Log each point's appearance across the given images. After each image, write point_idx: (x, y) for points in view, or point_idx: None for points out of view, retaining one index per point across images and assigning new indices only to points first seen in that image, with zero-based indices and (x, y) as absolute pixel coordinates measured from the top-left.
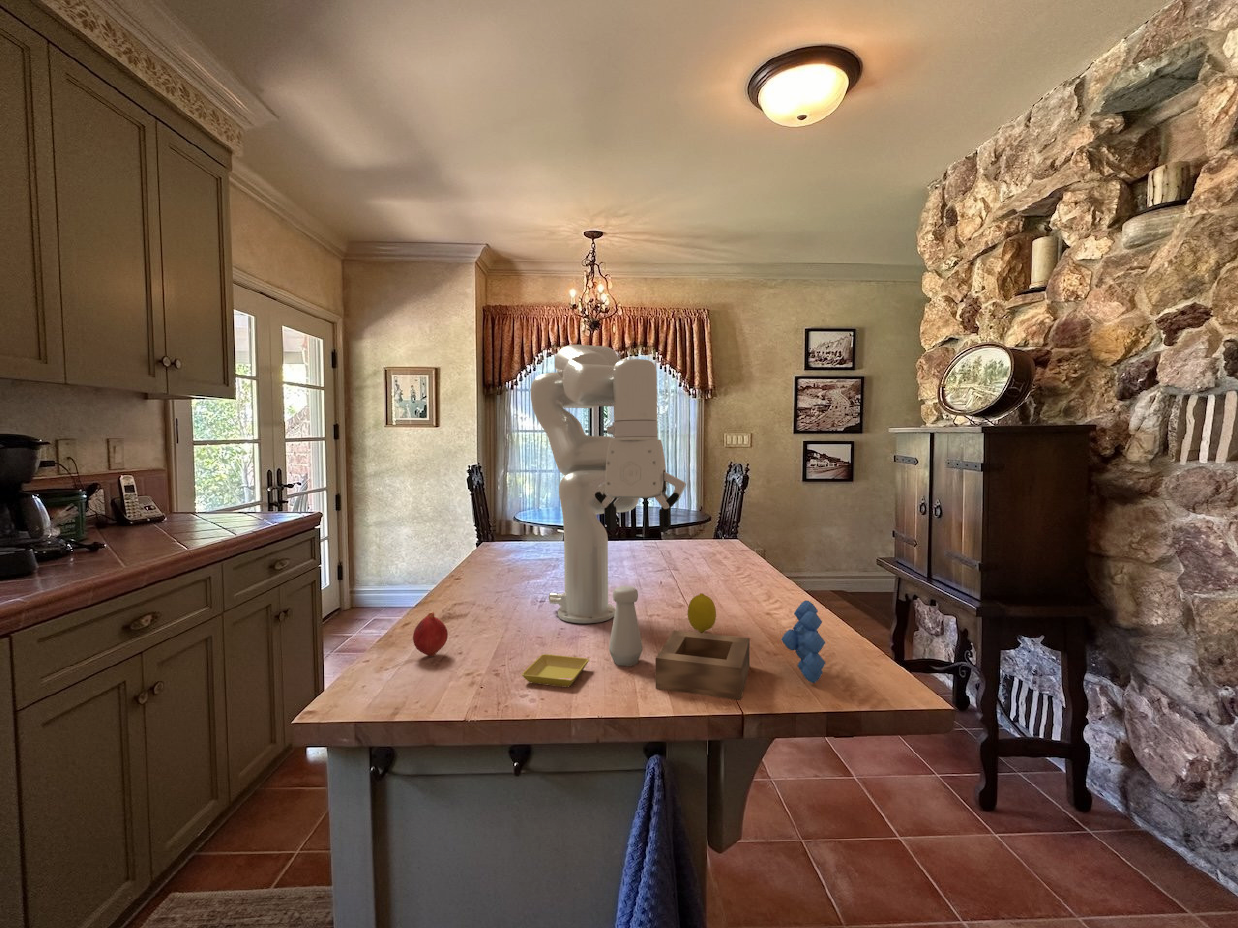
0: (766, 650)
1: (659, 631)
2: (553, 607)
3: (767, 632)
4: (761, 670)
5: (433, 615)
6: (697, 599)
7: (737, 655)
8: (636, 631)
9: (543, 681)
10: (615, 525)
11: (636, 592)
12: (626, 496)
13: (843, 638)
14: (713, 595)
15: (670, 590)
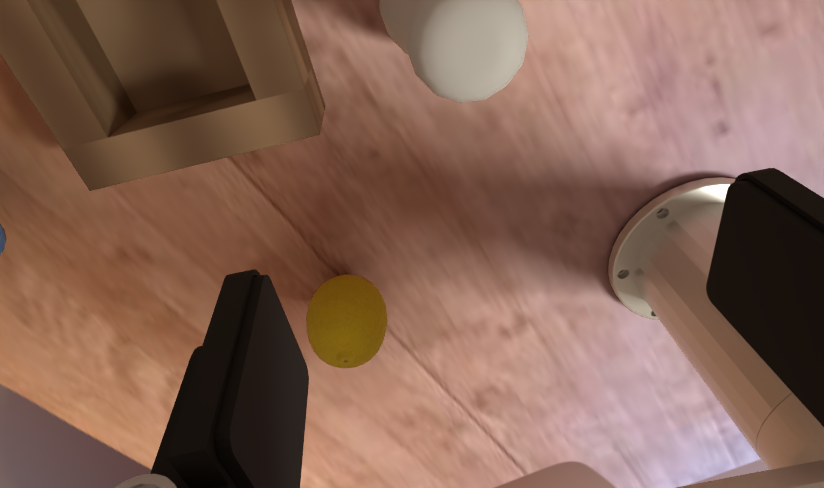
0: (155, 265)
1: (451, 244)
2: None
3: None
4: None
5: None
6: (348, 334)
7: (8, 27)
8: (395, 7)
9: None
10: (723, 287)
11: (411, 51)
12: (794, 479)
13: (65, 400)
14: (440, 478)
15: (545, 464)
